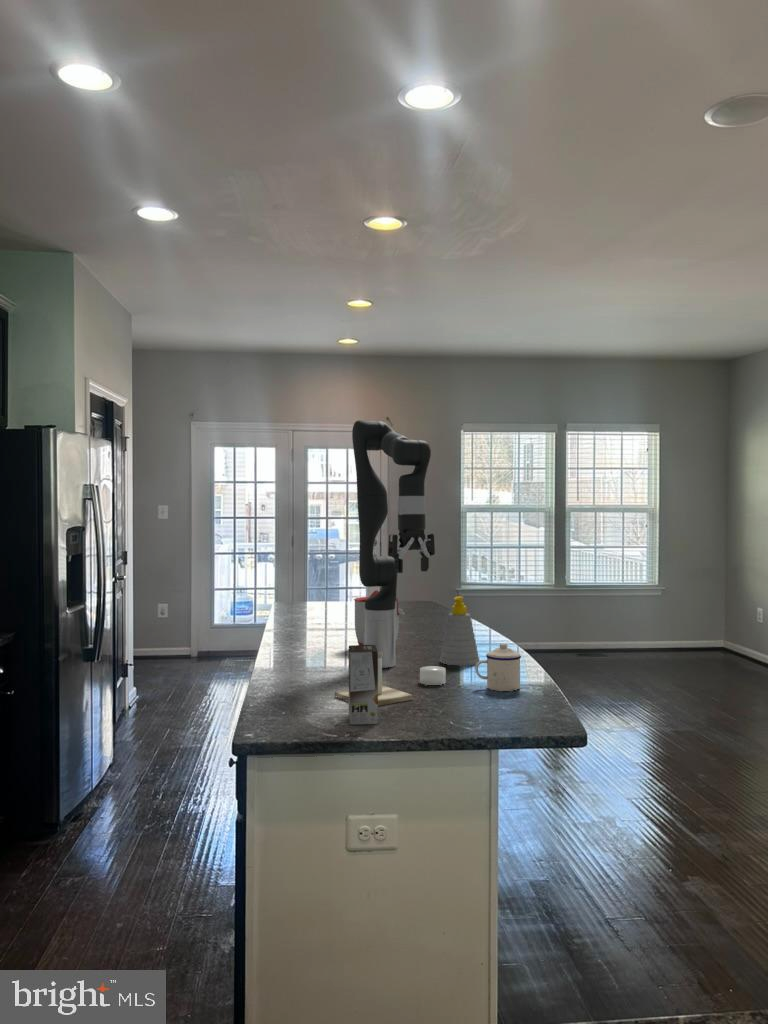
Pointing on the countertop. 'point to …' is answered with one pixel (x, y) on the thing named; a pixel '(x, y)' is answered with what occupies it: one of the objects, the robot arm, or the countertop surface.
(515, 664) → the teacup with lid
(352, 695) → the coffee box
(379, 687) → the jar
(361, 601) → the citrus juicer
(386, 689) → the board
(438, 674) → the white domed cylinder
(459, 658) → the soap bottle
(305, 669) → the countertop surface
